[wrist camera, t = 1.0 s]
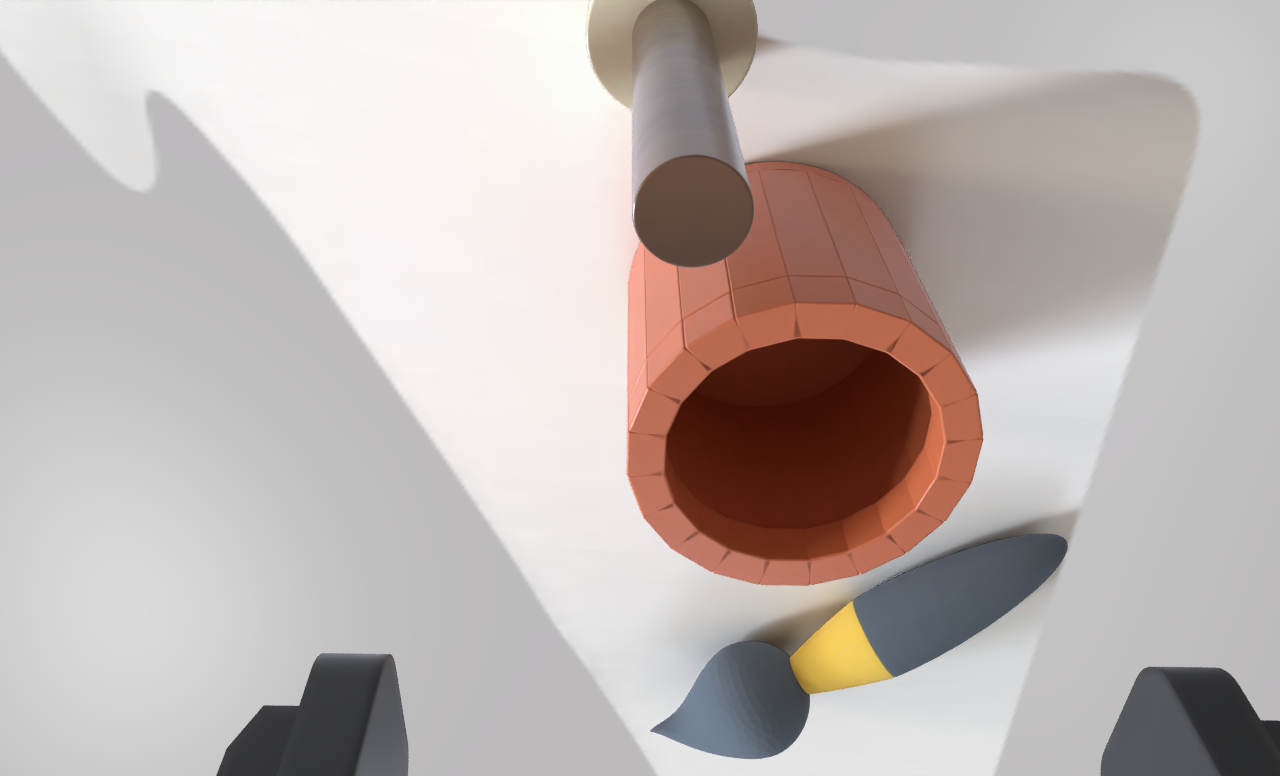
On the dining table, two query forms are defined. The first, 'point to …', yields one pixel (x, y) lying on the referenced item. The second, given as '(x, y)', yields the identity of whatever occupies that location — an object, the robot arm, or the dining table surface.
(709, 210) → the brown rod with cap
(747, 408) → the jar
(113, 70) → the dining table surface
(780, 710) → the paintbrush
